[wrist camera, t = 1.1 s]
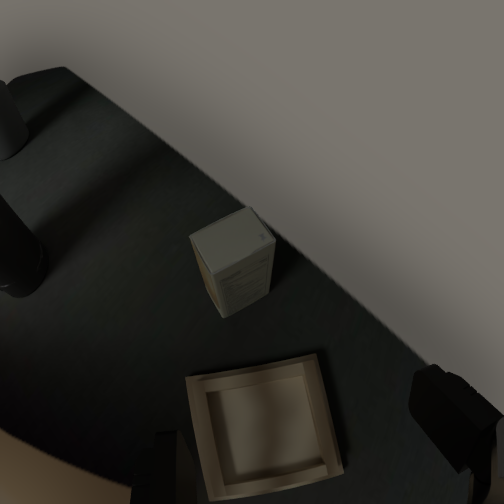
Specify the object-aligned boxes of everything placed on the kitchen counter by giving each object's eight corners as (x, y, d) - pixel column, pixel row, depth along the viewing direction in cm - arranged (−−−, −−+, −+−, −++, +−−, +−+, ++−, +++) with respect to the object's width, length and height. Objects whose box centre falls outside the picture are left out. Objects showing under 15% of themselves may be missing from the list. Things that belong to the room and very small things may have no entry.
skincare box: (250, 265, 39) (253, 202, 28) (270, 294, 37) (280, 238, 26) (203, 289, 37) (186, 233, 26) (221, 321, 35) (210, 275, 24)
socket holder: (210, 499, 25) (208, 505, 23) (186, 378, 32) (182, 375, 30) (341, 472, 27) (348, 475, 25) (314, 355, 33) (319, 350, 31)
